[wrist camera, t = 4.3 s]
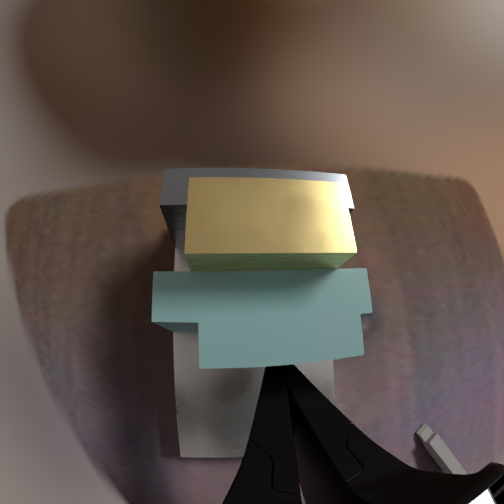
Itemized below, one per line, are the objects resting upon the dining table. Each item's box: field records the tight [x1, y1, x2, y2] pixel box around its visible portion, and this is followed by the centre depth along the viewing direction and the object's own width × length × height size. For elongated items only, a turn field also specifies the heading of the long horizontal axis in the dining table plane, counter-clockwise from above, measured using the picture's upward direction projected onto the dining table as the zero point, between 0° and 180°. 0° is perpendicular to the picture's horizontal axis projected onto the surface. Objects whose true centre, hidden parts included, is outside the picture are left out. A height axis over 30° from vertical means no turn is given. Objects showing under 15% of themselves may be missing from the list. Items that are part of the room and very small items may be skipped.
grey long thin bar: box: [416, 423, 467, 474], centre depth 10 cm, size 20×1×6 cm, turn 35°
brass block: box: [184, 177, 357, 271], centre depth 13 cm, size 3×6×7 cm, turn 93°
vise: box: [160, 168, 354, 458], centre depth 13 cm, size 15×9×6 cm, turn 3°
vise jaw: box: [152, 268, 373, 369], centre depth 11 cm, size 4×9×7 cm, turn 93°
